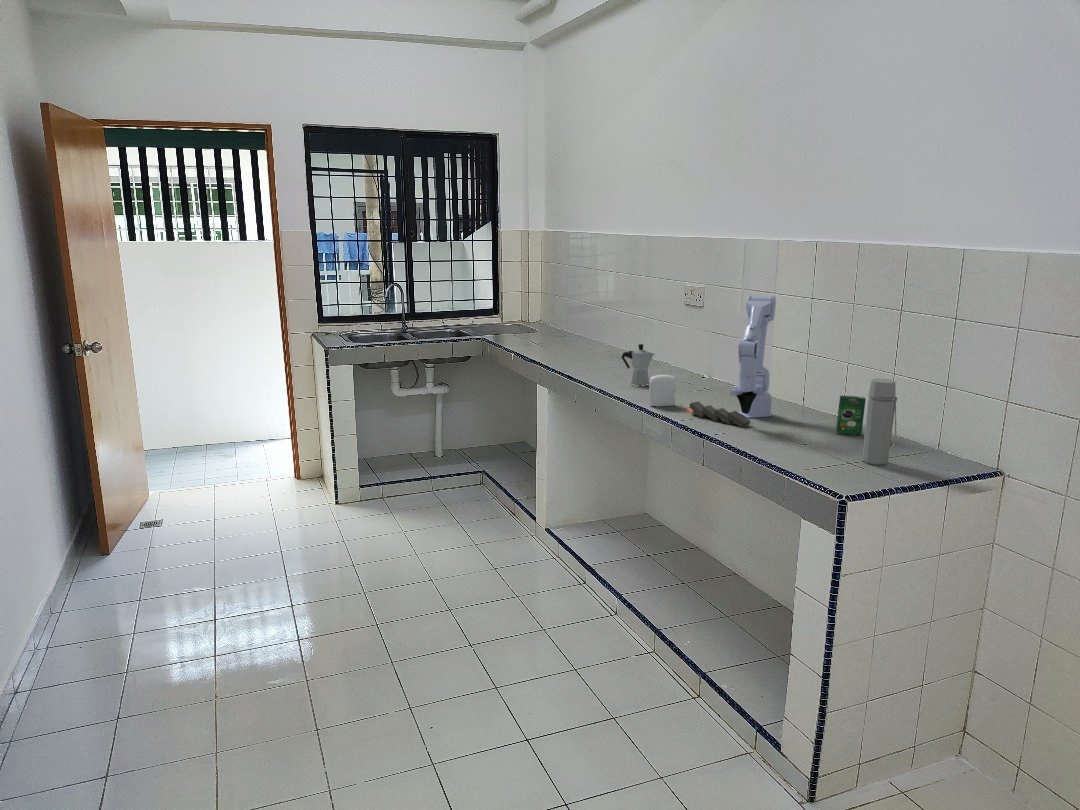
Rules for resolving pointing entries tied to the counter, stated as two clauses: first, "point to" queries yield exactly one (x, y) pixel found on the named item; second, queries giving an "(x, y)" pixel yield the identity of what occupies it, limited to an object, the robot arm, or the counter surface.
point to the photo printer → (662, 390)
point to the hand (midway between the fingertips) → (745, 413)
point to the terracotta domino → (690, 411)
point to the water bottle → (879, 421)
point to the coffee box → (850, 415)
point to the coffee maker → (639, 365)
